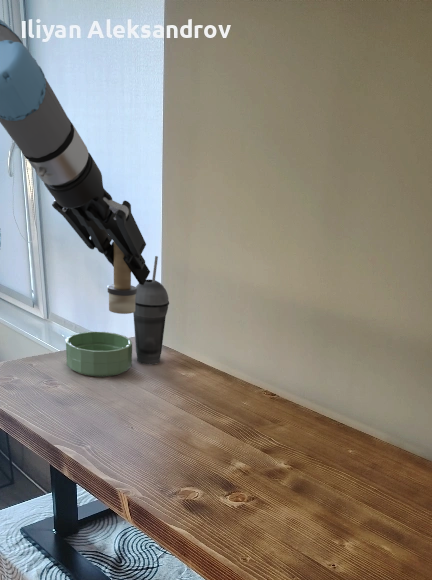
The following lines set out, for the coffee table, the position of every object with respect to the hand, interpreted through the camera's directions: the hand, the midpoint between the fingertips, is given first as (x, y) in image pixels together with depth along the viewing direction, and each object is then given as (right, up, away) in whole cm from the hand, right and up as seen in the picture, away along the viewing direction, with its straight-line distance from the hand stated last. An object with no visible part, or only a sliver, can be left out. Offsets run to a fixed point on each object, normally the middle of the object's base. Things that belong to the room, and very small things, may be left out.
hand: (136, 276), depth 106 cm
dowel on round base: (-2, -6, 0) cm, 6 cm away
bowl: (-9, -13, +13) cm, 20 cm away
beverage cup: (0, -11, +18) cm, 21 cm away
